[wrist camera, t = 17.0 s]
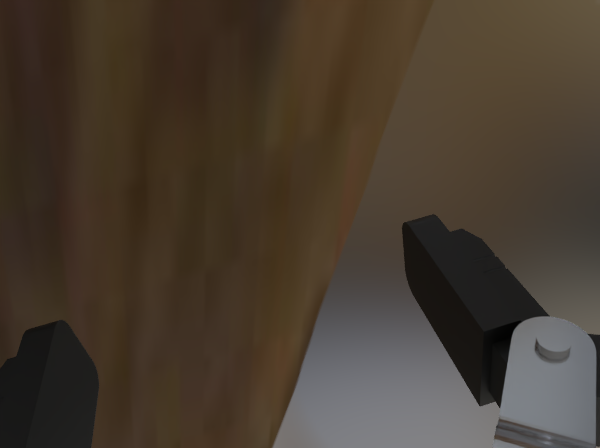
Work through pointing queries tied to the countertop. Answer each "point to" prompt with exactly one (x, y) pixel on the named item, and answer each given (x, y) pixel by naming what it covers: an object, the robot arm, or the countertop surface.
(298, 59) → the countertop surface
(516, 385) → the robot arm
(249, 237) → the countertop surface
